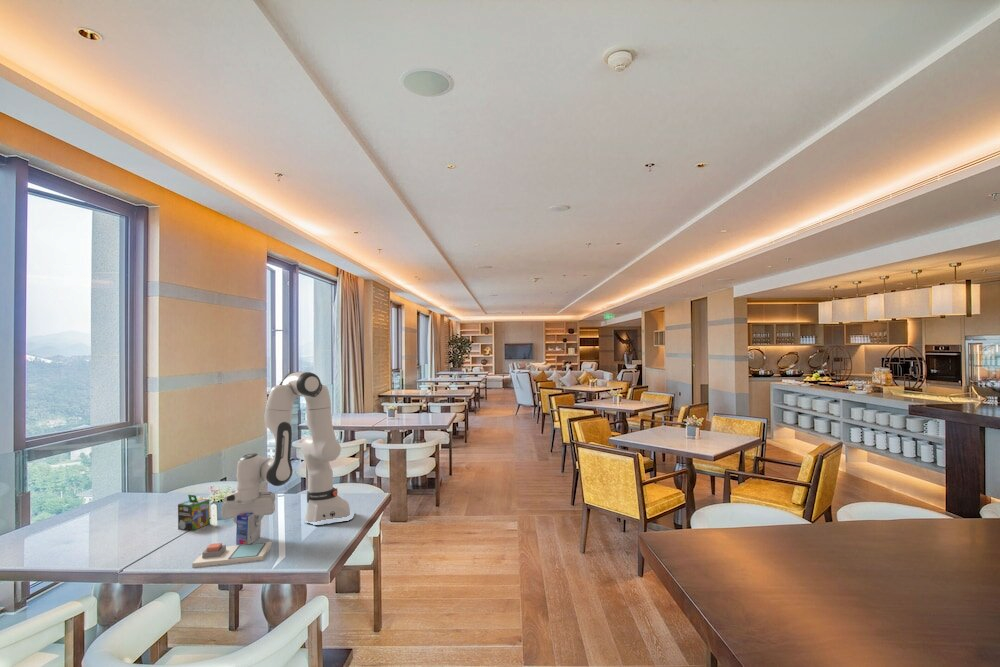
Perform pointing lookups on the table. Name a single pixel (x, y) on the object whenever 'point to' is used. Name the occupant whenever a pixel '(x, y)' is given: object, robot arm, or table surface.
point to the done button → (214, 547)
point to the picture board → (233, 554)
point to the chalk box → (193, 514)
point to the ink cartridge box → (247, 528)
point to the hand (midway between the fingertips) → (248, 526)
